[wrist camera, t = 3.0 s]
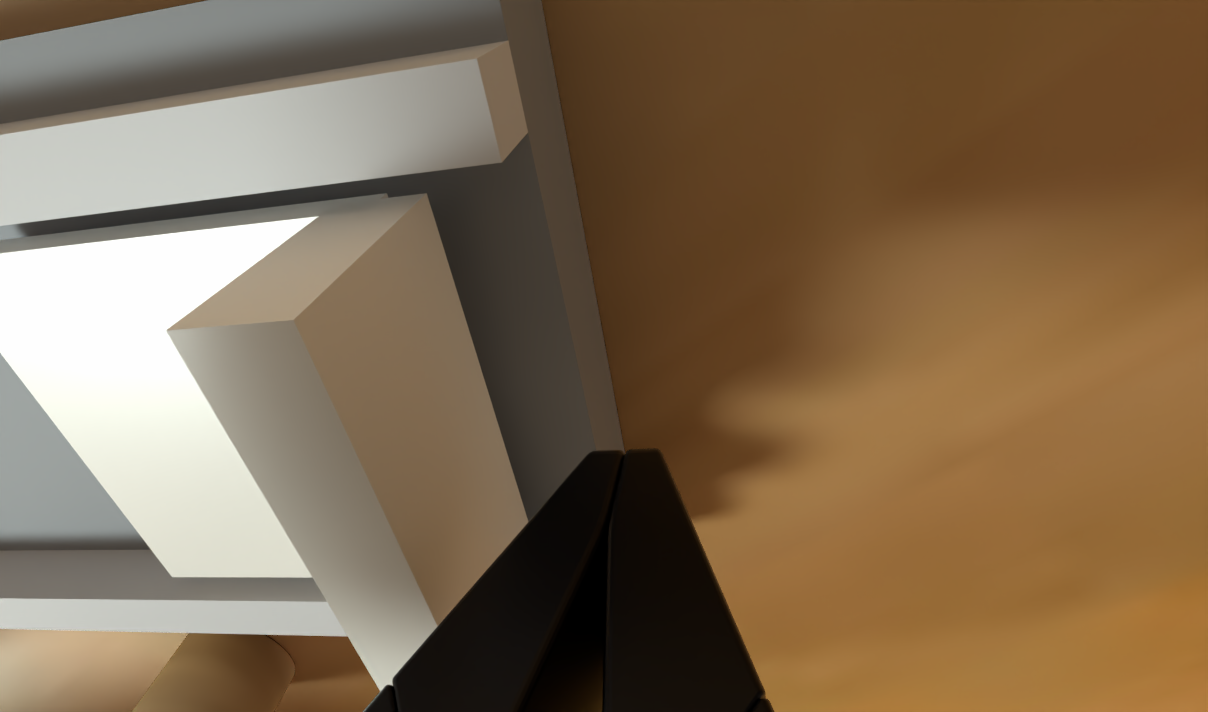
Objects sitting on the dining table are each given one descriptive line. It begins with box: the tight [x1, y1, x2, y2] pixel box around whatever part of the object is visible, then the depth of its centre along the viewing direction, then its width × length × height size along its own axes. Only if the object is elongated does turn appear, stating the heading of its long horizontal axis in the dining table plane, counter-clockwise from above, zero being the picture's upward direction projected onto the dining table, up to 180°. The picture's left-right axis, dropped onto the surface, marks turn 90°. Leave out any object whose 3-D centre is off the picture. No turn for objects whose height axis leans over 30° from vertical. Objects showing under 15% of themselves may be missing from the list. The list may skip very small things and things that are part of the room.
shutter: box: [0, 193, 528, 691], centre depth 9 cm, size 6×7×3 cm
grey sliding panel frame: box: [0, 0, 625, 636], centre depth 11 cm, size 11×16×3 cm
